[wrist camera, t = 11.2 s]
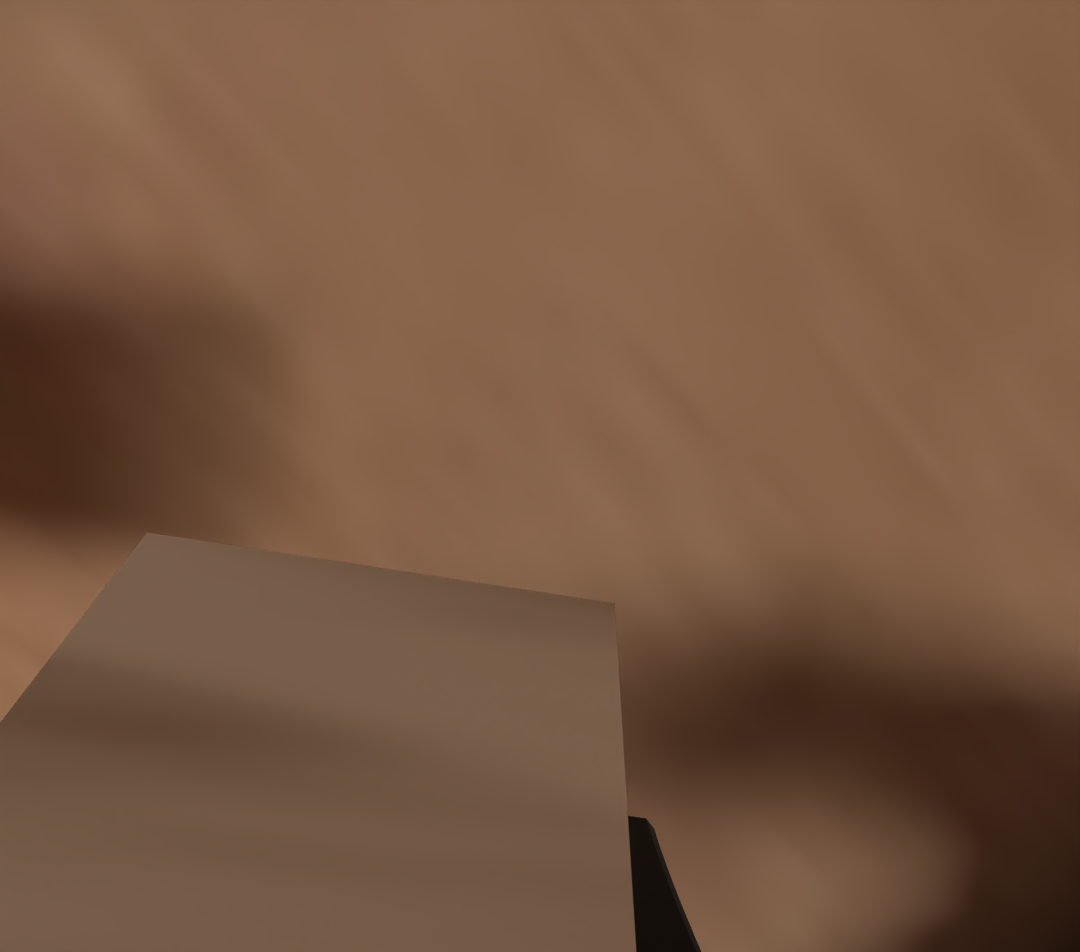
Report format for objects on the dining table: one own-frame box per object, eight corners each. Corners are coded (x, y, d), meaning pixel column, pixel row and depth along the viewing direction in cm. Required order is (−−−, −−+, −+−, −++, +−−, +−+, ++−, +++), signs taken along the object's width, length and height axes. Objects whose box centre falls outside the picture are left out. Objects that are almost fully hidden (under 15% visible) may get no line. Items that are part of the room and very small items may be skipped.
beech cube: (541, 923, 13) (522, 1417, 9) (152, 870, 13) (-74, 1348, 8) (614, 603, 11) (641, 1043, 6) (147, 533, 11) (-164, 935, 6)
